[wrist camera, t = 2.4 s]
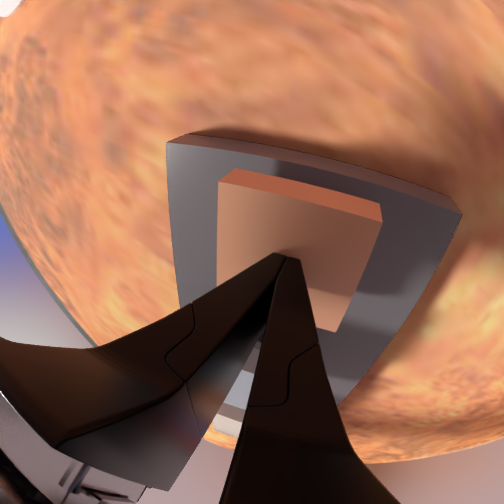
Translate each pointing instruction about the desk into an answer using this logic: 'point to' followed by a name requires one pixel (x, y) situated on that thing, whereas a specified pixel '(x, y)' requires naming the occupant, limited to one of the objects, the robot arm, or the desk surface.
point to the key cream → (229, 420)
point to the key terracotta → (297, 235)
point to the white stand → (9, 7)
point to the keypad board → (330, 177)
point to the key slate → (244, 381)
